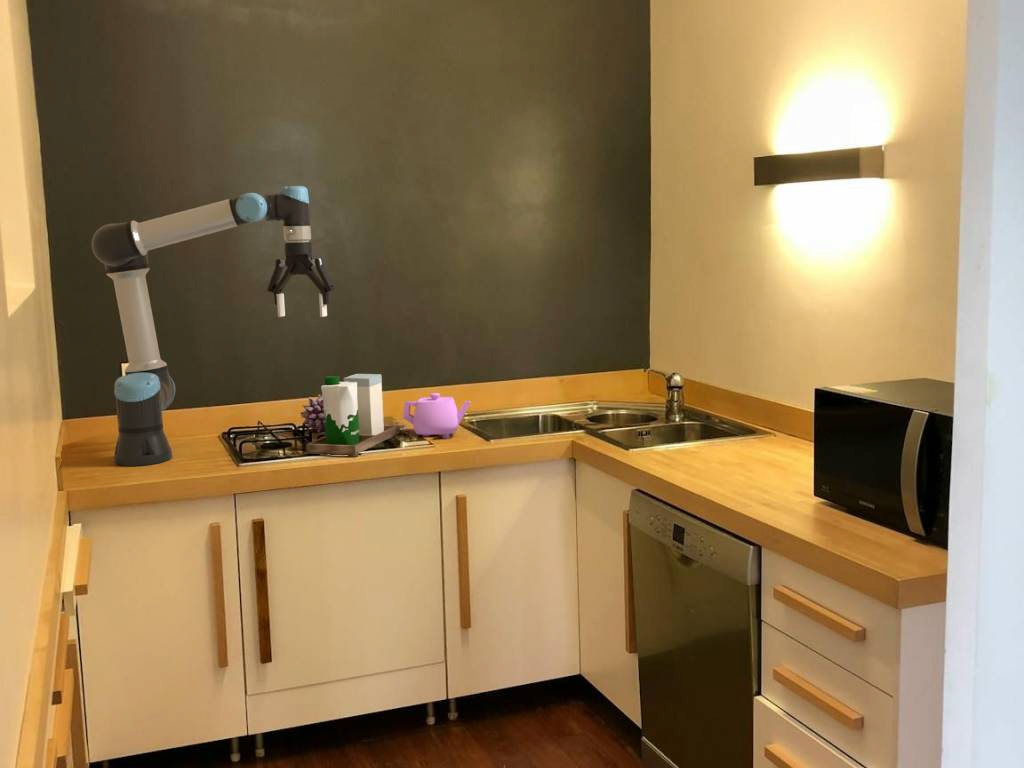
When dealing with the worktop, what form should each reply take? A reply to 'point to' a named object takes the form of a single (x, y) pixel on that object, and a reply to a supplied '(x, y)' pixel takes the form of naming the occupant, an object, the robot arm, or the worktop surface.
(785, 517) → the worktop surface
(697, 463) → the worktop surface
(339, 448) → the tray
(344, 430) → the soya milk
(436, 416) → the teapot
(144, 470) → the worktop surface
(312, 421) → the purple spiky ball
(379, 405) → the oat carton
